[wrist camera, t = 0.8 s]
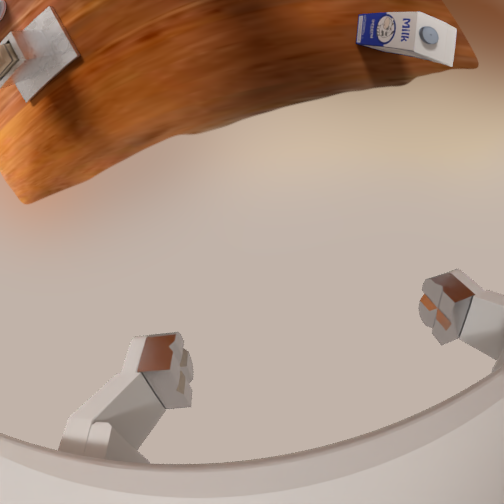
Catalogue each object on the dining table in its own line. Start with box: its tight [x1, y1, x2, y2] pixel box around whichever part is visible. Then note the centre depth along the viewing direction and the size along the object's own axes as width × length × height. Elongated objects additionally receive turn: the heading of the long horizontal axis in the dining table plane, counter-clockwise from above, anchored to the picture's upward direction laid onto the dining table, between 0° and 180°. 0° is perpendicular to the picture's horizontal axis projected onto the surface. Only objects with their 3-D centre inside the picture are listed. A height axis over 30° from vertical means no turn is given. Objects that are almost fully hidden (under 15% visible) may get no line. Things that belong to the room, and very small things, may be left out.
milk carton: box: [356, 11, 457, 67], centre depth 31 cm, size 7×7×20 cm
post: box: [0, 43, 19, 77], centre depth 23 cm, size 4×4×17 cm
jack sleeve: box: [0, 6, 81, 103], centre depth 26 cm, size 14×14×12 cm
